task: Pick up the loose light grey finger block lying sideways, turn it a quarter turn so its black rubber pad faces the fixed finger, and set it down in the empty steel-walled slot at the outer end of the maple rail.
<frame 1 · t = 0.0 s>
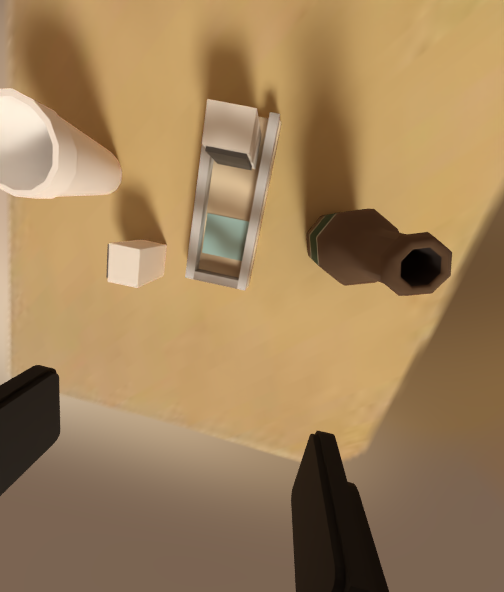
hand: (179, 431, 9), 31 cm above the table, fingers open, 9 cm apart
foam cup: (102, 171, 37), on the table
finger rail: (232, 205, 37), on the table
beer bottle: (331, 240, 37), on the table
loose finger: (153, 258, 40), on the table
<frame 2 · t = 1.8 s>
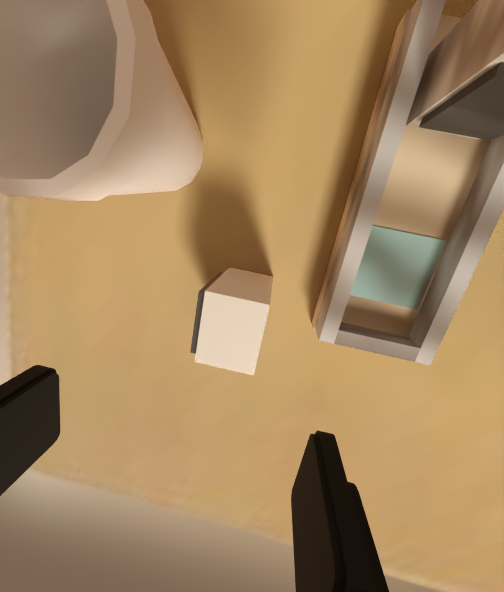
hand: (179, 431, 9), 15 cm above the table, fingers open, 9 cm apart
foam cup: (167, 149, 21), on the table
finger rail: (405, 209, 20), on the table
loose finger: (246, 297, 24), on the table
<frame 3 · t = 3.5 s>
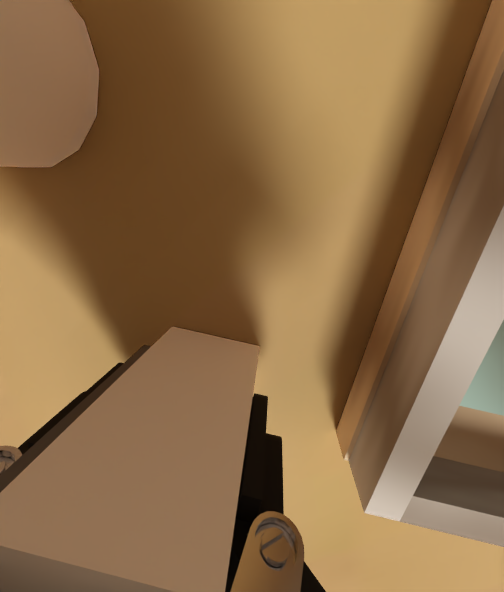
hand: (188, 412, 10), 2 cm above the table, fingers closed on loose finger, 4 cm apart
foam cup: (21, 76, 9), on the table
loose finger: (207, 383, 12), on the table, touching gripper
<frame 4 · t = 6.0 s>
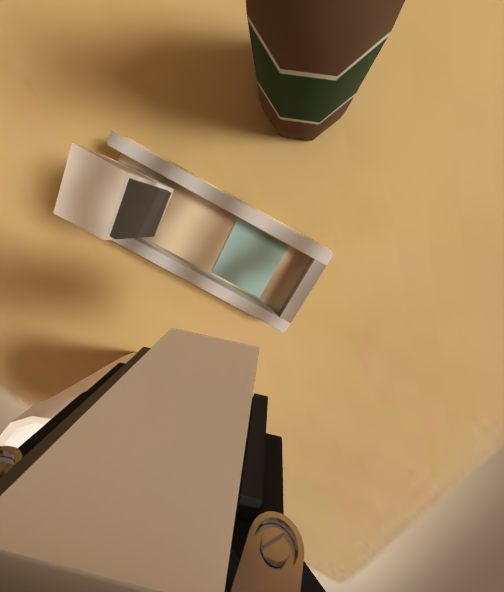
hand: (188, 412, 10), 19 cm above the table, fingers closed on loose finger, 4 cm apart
foam cup: (141, 373, 33), on the table
finger rail: (213, 237, 27), on the table
beer bottle: (303, 97, 23), on the table
loose finger: (207, 385, 12), point 17 cm above the table, touching gripper
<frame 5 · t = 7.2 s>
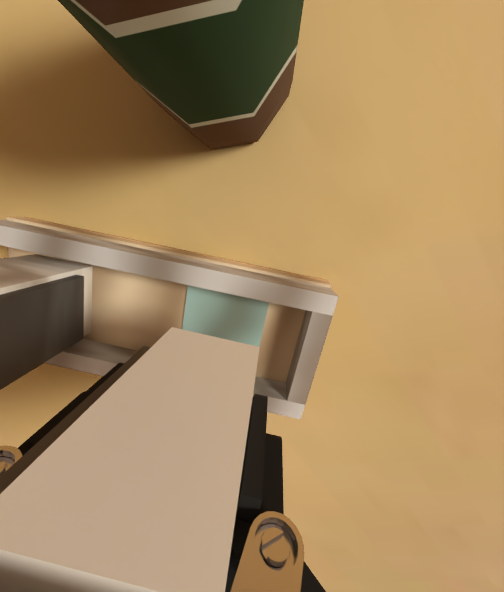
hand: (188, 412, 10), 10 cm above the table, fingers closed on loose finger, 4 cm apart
finger rail: (168, 308, 20), on the table
beer bottle: (227, 83, 15), on the table
loose finger: (207, 384, 12), point 8 cm above the table, touching gripper
when the fingers open (4 cm above the table, at t = 8.4 s): loose finger stays where it is, resting on finger rail.
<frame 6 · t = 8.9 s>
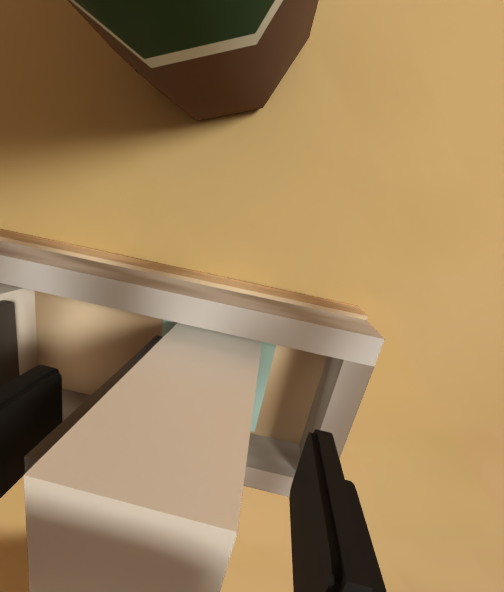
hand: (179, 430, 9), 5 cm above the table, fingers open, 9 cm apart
finger rail: (142, 339, 15), on the table
beer bottle: (218, 23, 11), on the table
loose finger: (212, 373, 13), point 2 cm above the table, touching finger rail
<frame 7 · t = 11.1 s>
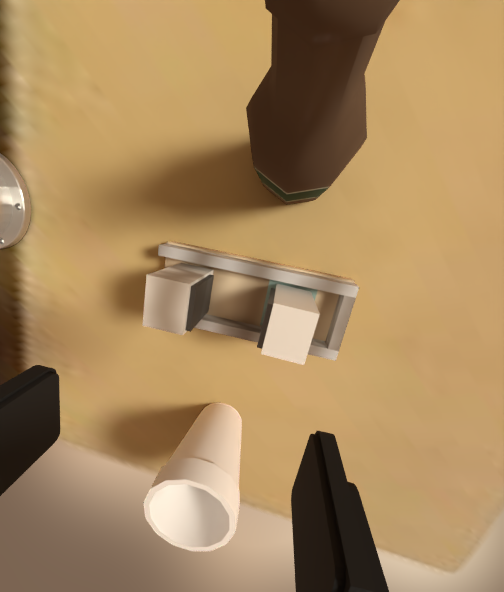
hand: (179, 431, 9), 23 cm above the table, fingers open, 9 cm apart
foam cup: (221, 420, 38), on the table
finger rail: (252, 295, 32), on the table
beer bottle: (296, 169, 28), on the table
loose finger: (288, 307, 30), point 2 cm above the table, touching finger rail
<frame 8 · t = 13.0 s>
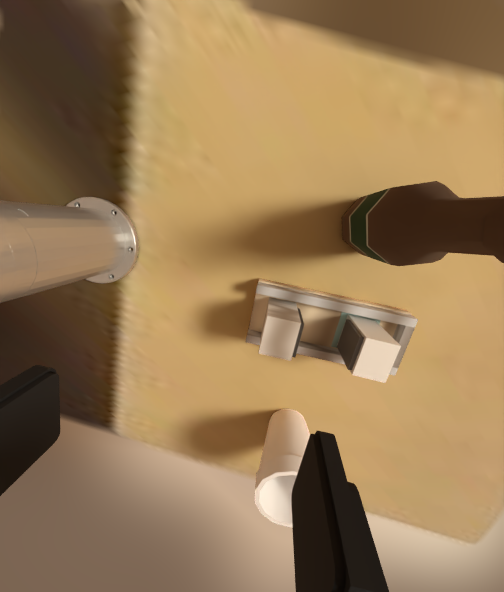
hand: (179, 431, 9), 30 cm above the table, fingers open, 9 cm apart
foam cup: (287, 422, 45), on the table
finger rail: (323, 322, 39), on the table
beer bottle: (367, 225, 35), on the table
loose finger: (355, 333, 38), point 2 cm above the table, touching finger rail
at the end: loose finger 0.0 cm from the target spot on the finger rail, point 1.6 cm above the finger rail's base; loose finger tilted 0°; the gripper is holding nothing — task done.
